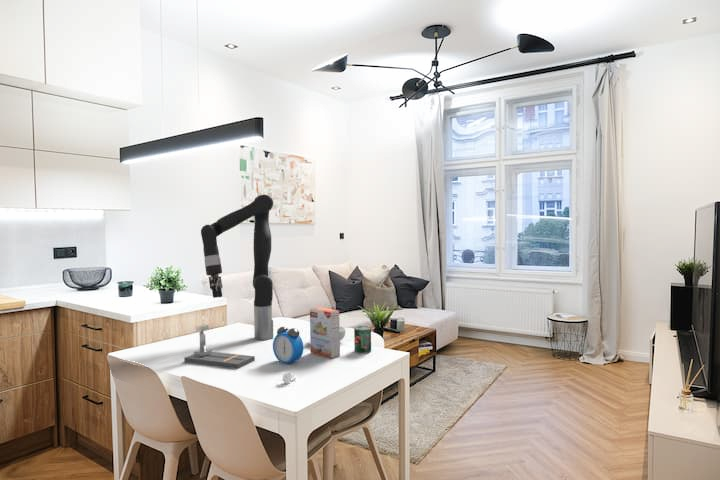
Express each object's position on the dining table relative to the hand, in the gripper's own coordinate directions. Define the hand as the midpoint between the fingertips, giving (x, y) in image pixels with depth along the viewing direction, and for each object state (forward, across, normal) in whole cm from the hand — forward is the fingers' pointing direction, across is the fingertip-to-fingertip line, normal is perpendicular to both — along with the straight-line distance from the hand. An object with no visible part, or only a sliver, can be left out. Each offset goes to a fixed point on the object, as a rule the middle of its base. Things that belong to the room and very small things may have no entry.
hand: (217, 297), depth 225 cm
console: (+28, -24, -3) cm, 37 cm away
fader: (+24, -21, +5) cm, 32 cm away
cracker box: (+35, -18, -48) cm, 62 cm away
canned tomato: (+37, -14, -66) cm, 76 cm away
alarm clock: (+34, -28, -32) cm, 54 cm away
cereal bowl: (+32, +4, -50) cm, 60 cm away
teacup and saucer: (+38, -53, -37) cm, 75 cm away
